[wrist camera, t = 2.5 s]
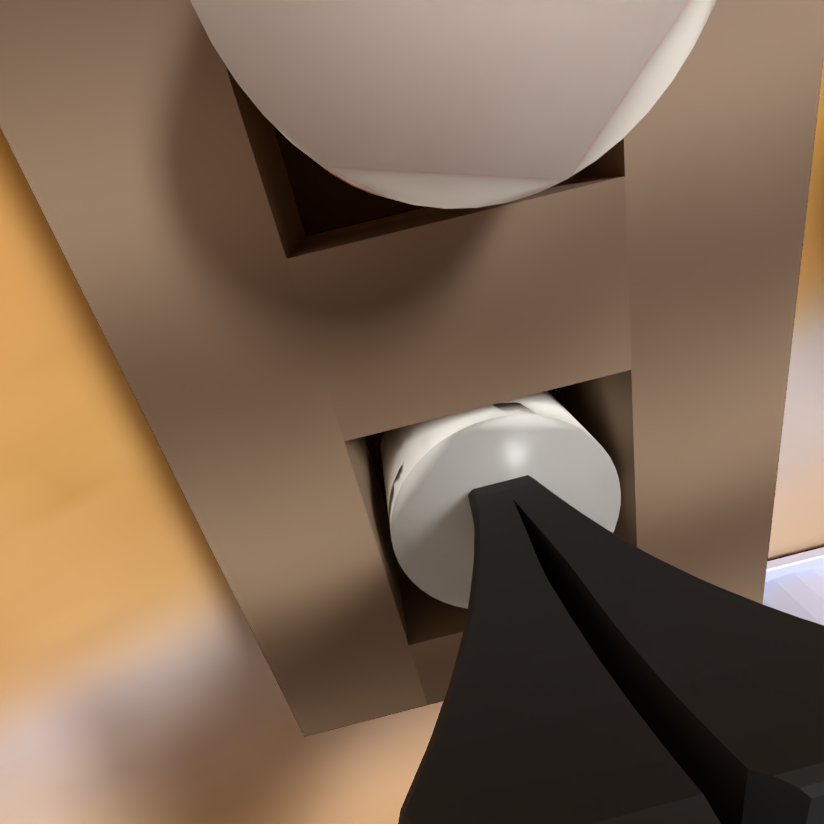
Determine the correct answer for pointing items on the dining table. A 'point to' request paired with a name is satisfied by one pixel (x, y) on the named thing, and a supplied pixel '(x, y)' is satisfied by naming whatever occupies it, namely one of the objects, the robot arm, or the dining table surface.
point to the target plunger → (454, 85)
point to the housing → (422, 317)
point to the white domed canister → (484, 481)
